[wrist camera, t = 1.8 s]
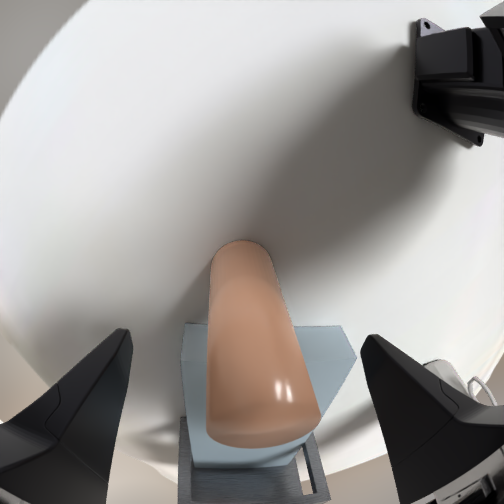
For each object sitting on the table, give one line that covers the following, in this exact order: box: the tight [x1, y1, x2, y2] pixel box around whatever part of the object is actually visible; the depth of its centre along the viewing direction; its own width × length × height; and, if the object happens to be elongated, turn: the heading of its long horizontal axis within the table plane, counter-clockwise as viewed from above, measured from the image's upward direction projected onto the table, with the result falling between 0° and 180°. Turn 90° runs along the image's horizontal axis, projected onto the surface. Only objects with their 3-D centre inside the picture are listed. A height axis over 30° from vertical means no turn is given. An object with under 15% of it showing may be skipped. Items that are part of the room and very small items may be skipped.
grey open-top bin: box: [178, 417, 331, 504], centre depth 19 cm, size 12×8×10 cm, turn 83°
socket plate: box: [180, 323, 357, 468], centre depth 19 cm, size 10×19×3 cm, turn 173°
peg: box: [206, 240, 321, 449], centre depth 10 cm, size 3×3×9 cm
